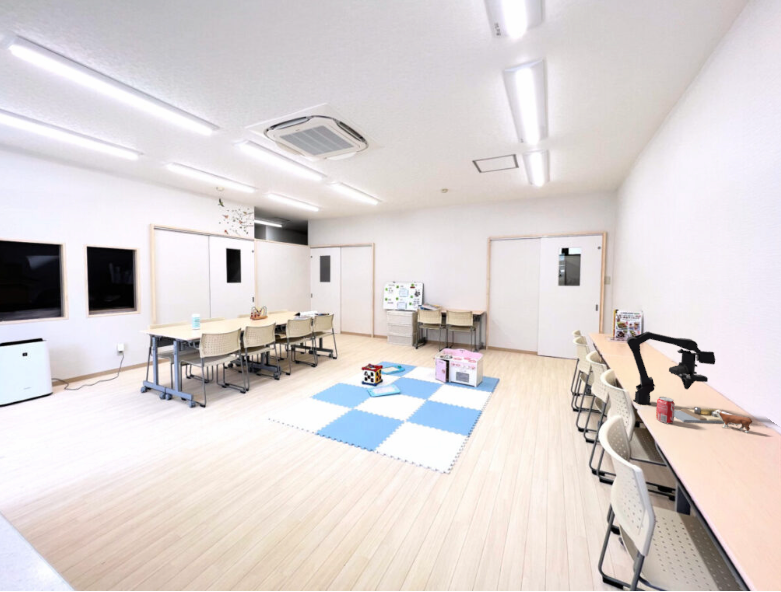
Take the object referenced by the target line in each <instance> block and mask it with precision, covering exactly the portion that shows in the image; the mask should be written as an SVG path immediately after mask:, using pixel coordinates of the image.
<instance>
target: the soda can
mask: <svg viewBox="0 0 781 592" xmlns="http://www.w3.org/2000/svg"><path fill="white" fill-rule="evenodd" d="M675 405H676V403H675V402H674V399H672V397H671V398H670V397H667V396H659V397H658V399H657V401H656V409H655V410H656V411H655V412H656V413H655V418H656V420H658V421H659V422H660V423H663V424H667V423H668V424H672V423H674V420H675V417H674V411H675V408H676V407H675Z"/></svg>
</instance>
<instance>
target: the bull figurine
mask: <svg viewBox="0 0 781 592" xmlns="http://www.w3.org/2000/svg"><path fill="white" fill-rule="evenodd" d="M713 414H716V415H717V416H718V417H719V418H720V420H721V421H722V422H724V423H723V426H721V428H722V429H725V428H729V426H730V425H729V424H728V423H731V424H732V425H735V426H736V427H738V426H739V425H741V426H740V427H738V428H737V430H738V431H743V429H745V430H744V433H745V434H749V433H750V429H751V428H750V425H752V424H753V419H751V418H750V417H745V416H740V415H734V414H732V413H728V412H726V411H723V410H721V409H719V410H716V411H715V412H713Z"/></svg>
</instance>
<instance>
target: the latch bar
mask: <svg viewBox="0 0 781 592" xmlns="http://www.w3.org/2000/svg"><path fill="white" fill-rule="evenodd" d="M693 410H694V413H695V414H712V411H716V410H720V409H718V408H701V407H698V406H694V409H693Z"/></svg>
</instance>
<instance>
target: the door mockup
mask: <svg viewBox="0 0 781 592" xmlns="http://www.w3.org/2000/svg"><path fill="white" fill-rule="evenodd" d="M713 412H715V411H712V414H695V413H694V409H689V408H681V409H680V410H675V411H674V419H677V420H679V421H681V422H683V423H697V424H698V423H700V424H701V423H702V424H703V423H704V424H724V422H722V421H721V420H720V418H719V417H718V416H717V415H716V414H713ZM730 424H732V423H728V425H730Z"/></svg>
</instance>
